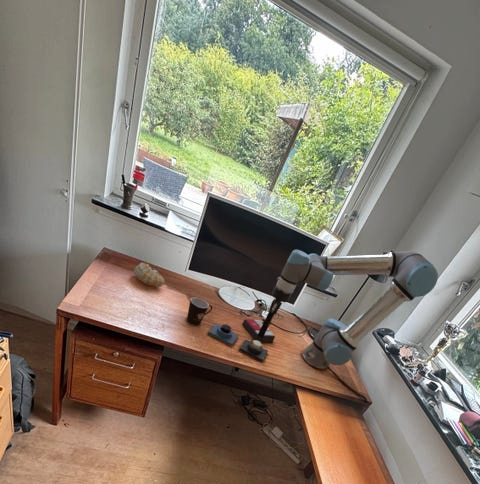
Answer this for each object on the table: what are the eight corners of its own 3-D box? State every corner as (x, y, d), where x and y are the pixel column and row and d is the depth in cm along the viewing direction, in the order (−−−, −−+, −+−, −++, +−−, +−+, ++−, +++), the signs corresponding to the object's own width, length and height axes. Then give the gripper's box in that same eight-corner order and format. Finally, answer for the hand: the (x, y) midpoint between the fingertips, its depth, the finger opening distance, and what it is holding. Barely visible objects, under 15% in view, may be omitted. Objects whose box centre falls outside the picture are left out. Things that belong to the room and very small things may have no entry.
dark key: (230, 331, 160) (232, 327, 159) (227, 334, 157) (229, 331, 155) (222, 326, 160) (224, 323, 159) (219, 330, 156) (220, 326, 155)
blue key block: (237, 337, 164) (240, 331, 162) (231, 346, 156) (233, 340, 154) (215, 326, 164) (217, 320, 162) (207, 334, 156) (210, 328, 154)
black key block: (266, 353, 164) (269, 347, 162) (261, 362, 157) (265, 356, 154) (244, 341, 164) (247, 335, 162) (238, 350, 156) (241, 344, 154)
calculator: (261, 319, 180) (276, 335, 171) (258, 326, 183) (272, 342, 174) (244, 317, 174) (259, 334, 165) (241, 325, 176) (255, 341, 168)
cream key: (261, 346, 160) (262, 343, 159) (258, 350, 157) (260, 347, 155) (252, 342, 160) (254, 338, 159) (250, 346, 157) (252, 342, 155)
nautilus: (133, 267, 176) (161, 277, 182) (130, 284, 160) (162, 294, 166) (136, 252, 171) (166, 263, 177) (134, 268, 156) (166, 279, 162)
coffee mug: (185, 324, 155) (191, 305, 149) (183, 314, 161) (189, 295, 154) (209, 330, 159) (216, 311, 153) (207, 320, 165) (213, 302, 159)
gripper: (278, 280, 145) (256, 327, 160) (272, 289, 135) (249, 338, 150) (294, 289, 145) (270, 334, 160) (289, 298, 135) (264, 346, 150)
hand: (260, 336), depth 155 cm, fingers closed
